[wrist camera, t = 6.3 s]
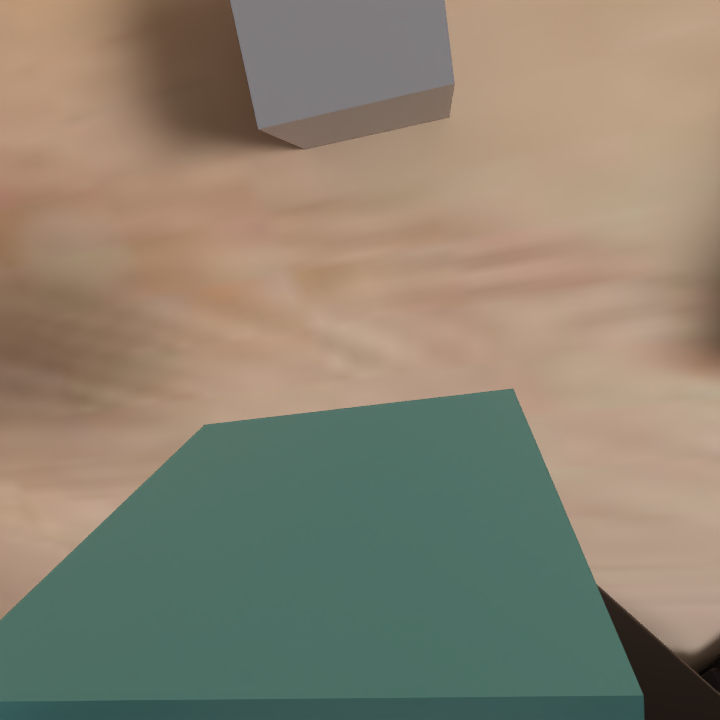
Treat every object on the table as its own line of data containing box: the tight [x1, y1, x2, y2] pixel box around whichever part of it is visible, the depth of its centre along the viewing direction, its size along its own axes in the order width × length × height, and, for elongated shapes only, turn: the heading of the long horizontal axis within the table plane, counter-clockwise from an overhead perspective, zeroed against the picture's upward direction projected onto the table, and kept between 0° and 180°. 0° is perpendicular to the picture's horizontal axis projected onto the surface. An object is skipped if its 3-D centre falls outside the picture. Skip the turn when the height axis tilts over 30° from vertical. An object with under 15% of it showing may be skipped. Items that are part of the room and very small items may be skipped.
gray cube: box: [230, 0, 454, 149], centre depth 14 cm, size 5×5×5 cm
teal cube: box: [0, 389, 645, 720], centre depth 6 cm, size 5×5×5 cm
